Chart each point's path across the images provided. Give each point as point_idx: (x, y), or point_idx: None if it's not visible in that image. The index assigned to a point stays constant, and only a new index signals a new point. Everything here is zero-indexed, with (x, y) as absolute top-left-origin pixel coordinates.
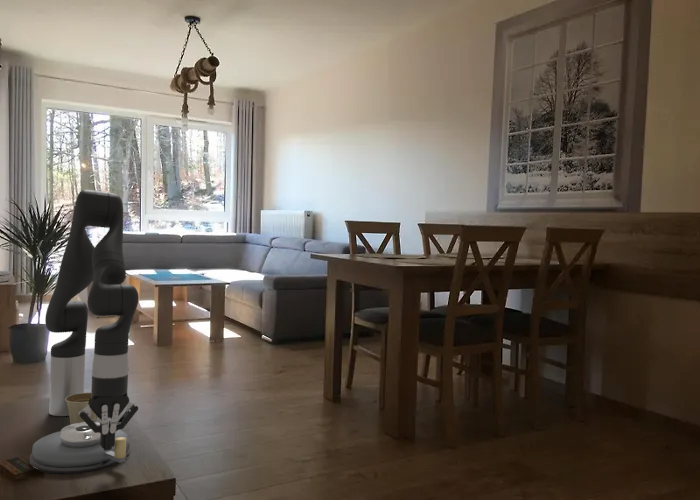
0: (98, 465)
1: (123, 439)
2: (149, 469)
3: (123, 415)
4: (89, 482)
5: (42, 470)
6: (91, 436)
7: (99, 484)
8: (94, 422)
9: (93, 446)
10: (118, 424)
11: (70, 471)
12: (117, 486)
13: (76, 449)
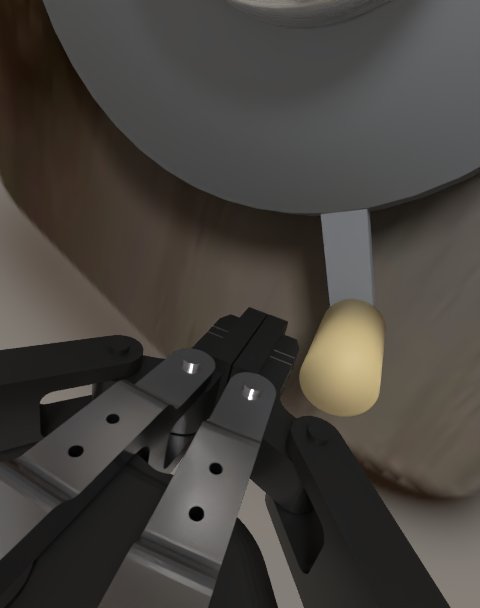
0: (291, 213)
1: (349, 402)
2: (476, 382)
3: (328, 545)
4: (217, 300)
5: None
6: (288, 7)
7: None
8: (82, 385)
9: (322, 37)
10: (268, 493)
11: None
12: None
13: (213, 21)
